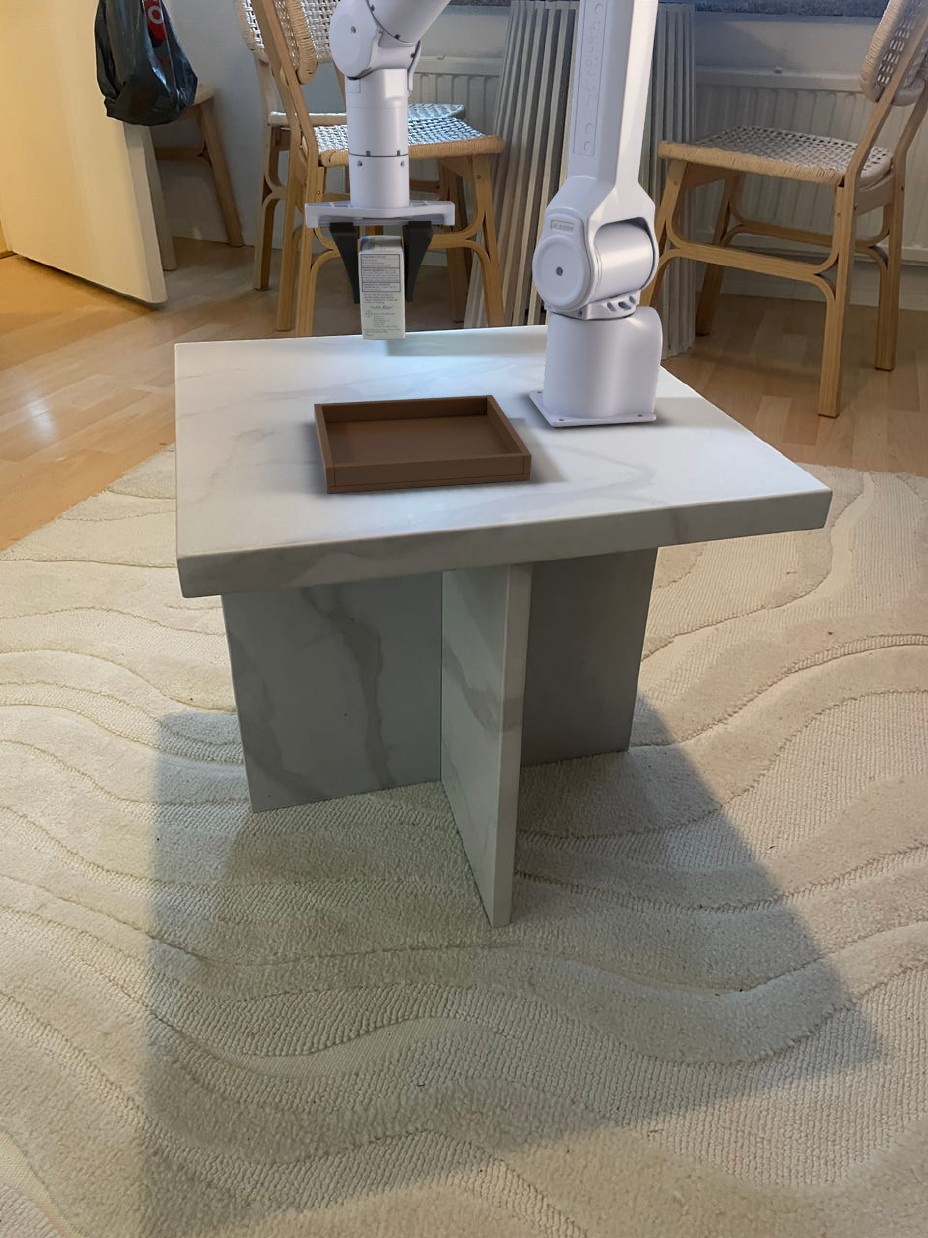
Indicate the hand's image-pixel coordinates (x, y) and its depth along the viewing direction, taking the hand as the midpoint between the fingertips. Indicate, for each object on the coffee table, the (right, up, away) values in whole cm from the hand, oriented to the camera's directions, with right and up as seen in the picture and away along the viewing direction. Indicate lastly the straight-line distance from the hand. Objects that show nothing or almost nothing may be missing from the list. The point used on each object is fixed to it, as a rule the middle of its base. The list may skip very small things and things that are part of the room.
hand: (383, 300), depth 94 cm
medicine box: (0, -3, +2) cm, 3 cm away
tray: (+5, -20, -21) cm, 29 cm away
